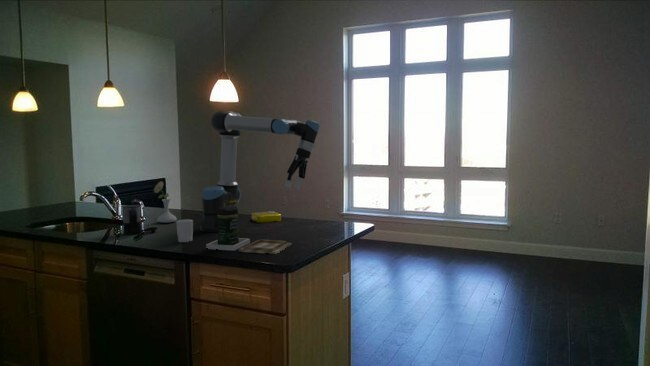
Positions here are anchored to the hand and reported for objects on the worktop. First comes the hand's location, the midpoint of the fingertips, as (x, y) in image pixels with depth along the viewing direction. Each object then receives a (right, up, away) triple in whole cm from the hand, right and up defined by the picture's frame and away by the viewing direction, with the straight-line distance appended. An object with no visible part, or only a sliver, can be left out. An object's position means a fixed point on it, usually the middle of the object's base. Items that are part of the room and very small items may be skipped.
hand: (291, 187), depth 250 cm
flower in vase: (-78, -21, +35) cm, 88 cm away
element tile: (-18, -21, +40) cm, 48 cm away
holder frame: (-27, -27, -28) cm, 48 cm away
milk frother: (-81, -24, +4) cm, 85 cm away
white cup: (-51, -26, -17) cm, 60 cm away
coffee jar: (-27, -27, -28) cm, 48 cm away
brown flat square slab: (-9, -27, -34) cm, 45 cm away
